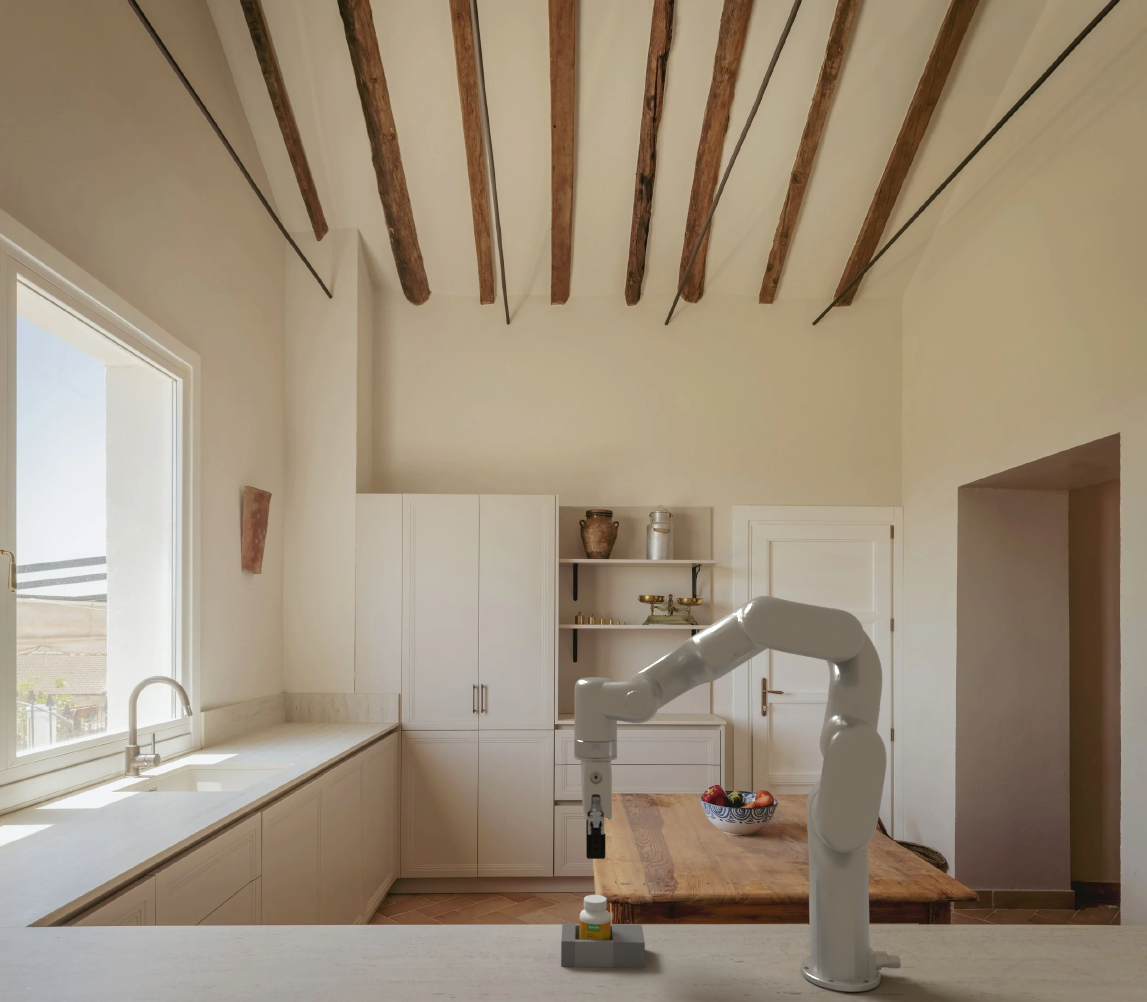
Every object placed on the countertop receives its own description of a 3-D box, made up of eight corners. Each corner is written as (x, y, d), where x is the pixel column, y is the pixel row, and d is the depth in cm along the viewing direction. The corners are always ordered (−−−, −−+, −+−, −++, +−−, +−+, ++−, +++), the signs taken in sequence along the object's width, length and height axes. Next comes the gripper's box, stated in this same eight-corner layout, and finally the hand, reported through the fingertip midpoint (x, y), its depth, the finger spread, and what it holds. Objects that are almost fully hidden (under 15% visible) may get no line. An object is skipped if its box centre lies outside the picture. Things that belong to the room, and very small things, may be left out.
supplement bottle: (584, 965, 149) (584, 905, 150) (575, 952, 155) (576, 894, 156) (614, 962, 151) (615, 902, 152) (604, 949, 156) (605, 892, 157)
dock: (641, 948, 157) (641, 924, 157) (644, 967, 149) (644, 942, 149) (562, 947, 157) (562, 923, 157) (561, 966, 149) (561, 941, 149)
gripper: (618, 758, 148) (619, 865, 146) (615, 741, 165) (615, 836, 163) (573, 758, 148) (573, 865, 146) (574, 740, 165) (574, 836, 163)
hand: (595, 849), depth 155 cm, fingers open, 9 cm apart
